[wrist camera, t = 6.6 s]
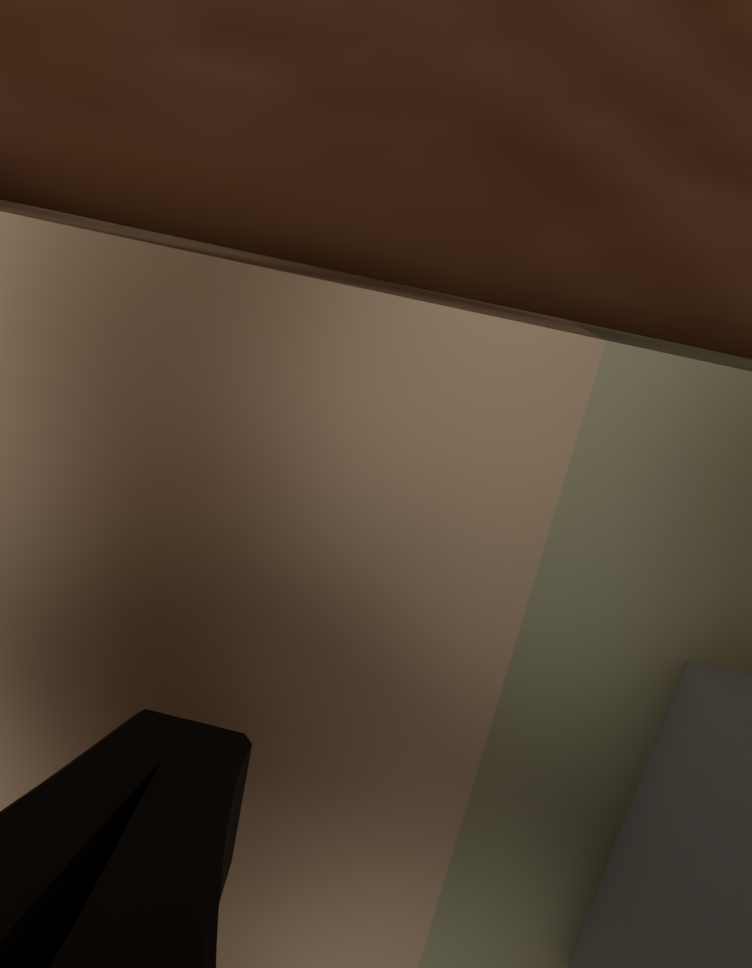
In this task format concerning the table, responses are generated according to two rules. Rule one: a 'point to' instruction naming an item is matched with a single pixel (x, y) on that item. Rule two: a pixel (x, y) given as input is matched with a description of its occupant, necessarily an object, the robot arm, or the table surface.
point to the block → (683, 840)
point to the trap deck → (361, 574)
